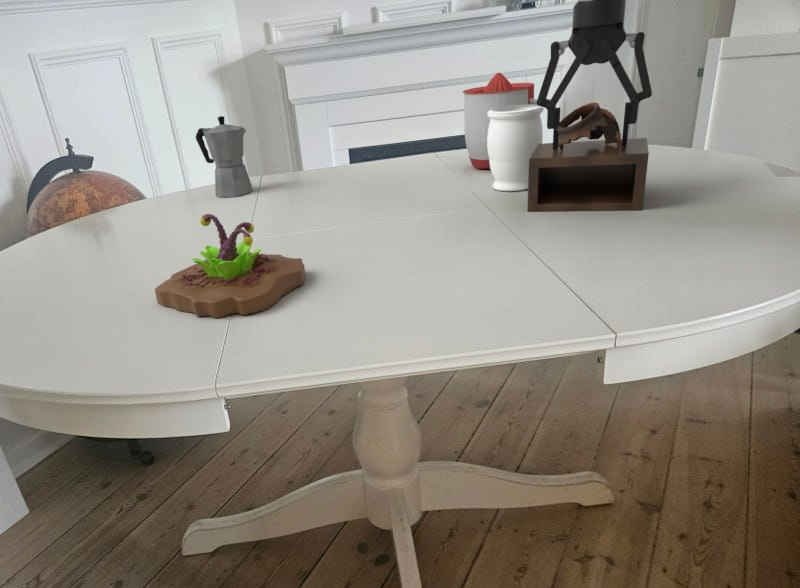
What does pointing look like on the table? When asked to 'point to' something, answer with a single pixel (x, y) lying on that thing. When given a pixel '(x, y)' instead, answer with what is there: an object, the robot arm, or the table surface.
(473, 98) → the citrus juicer
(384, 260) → the table surface
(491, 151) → the jar
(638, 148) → the stand
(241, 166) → the coffeepot
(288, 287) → the plant
